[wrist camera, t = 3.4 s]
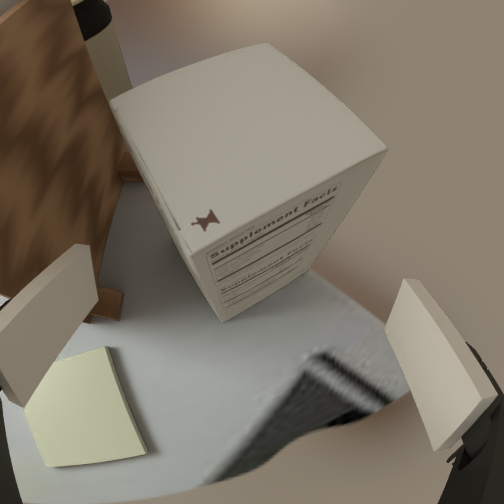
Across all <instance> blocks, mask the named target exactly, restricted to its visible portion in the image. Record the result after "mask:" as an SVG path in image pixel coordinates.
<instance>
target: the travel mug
mask: <svg viewBox="0 0 504 504" xmlns="http://www.w3.org/2000/svg"><path fill="white" fill-rule="evenodd" d="M71 3H72V6H73V9H74V13H75V16H76V19H77V22H78V25H79V27H80V30H81V33H82V36H83V39H84V42H85V45H86V47H87V50H88V53H89V55H90V58H91V61H92V63H93V66H94V69H95V71H96V74H97V76H98V79H99V81H100V84H101V86H102V89H103V91H104V94H105V96H106V99H107V101H108V104H109V101H110V100H111V99H113V98H115V97H117V96H119V95H121V94H123V93H125V92H127V91H129V90H131V89H133V88H132V85H131V82H130V79H129V75H128V73H127V69H126V65H125V62H124V59H123V55H122V52H121V48H120V45H119V41H118V38H117V34H116V31H115V27H114V23H113V20H112V15H111V12H110V8H109V5H107V4H106V3H105V2H104V1H103V0H71ZM109 106H110V105H109ZM110 108H111V107H110ZM111 111H112V110H111ZM112 113H113V112H112ZM113 116H114V115H113ZM114 118H115V117H114ZM115 120H116V119H115ZM116 123H117V122H116ZM117 125H118V124H117Z"/></svg>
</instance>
